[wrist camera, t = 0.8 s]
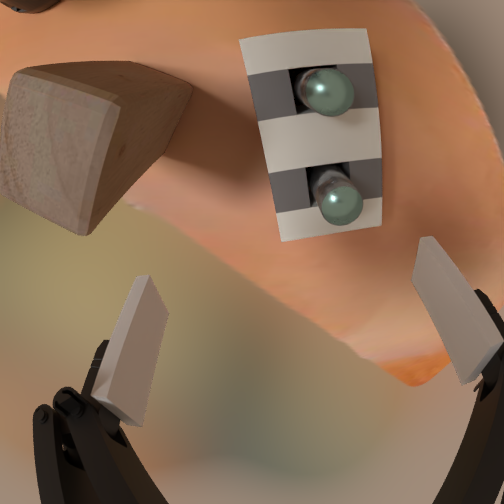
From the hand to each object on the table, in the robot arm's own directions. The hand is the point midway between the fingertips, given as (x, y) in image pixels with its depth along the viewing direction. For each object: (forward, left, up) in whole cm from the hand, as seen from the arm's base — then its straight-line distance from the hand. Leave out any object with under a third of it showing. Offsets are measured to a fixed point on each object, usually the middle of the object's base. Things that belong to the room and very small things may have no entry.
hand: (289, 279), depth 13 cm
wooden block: (-9, -13, -24) cm, 29 cm away
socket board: (-2, +6, -24) cm, 25 cm away
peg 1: (-7, +6, -19) cm, 21 cm away
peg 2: (+3, +6, -19) cm, 20 cm away
